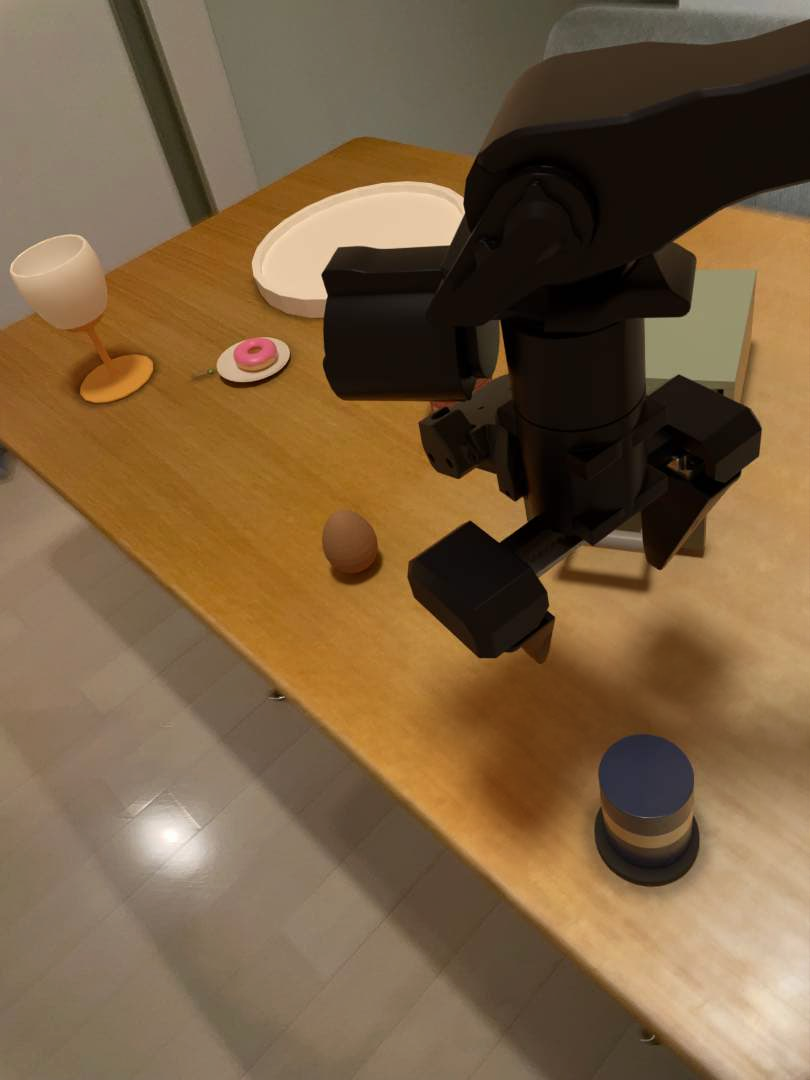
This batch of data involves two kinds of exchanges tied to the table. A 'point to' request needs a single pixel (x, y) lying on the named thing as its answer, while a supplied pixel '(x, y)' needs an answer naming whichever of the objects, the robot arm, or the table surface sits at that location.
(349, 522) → the egg
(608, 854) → the coaster
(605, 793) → the can
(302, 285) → the plate
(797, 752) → the table surface
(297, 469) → the table surface
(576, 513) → the robot arm
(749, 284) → the pale olive box
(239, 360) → the donut
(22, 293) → the cup
